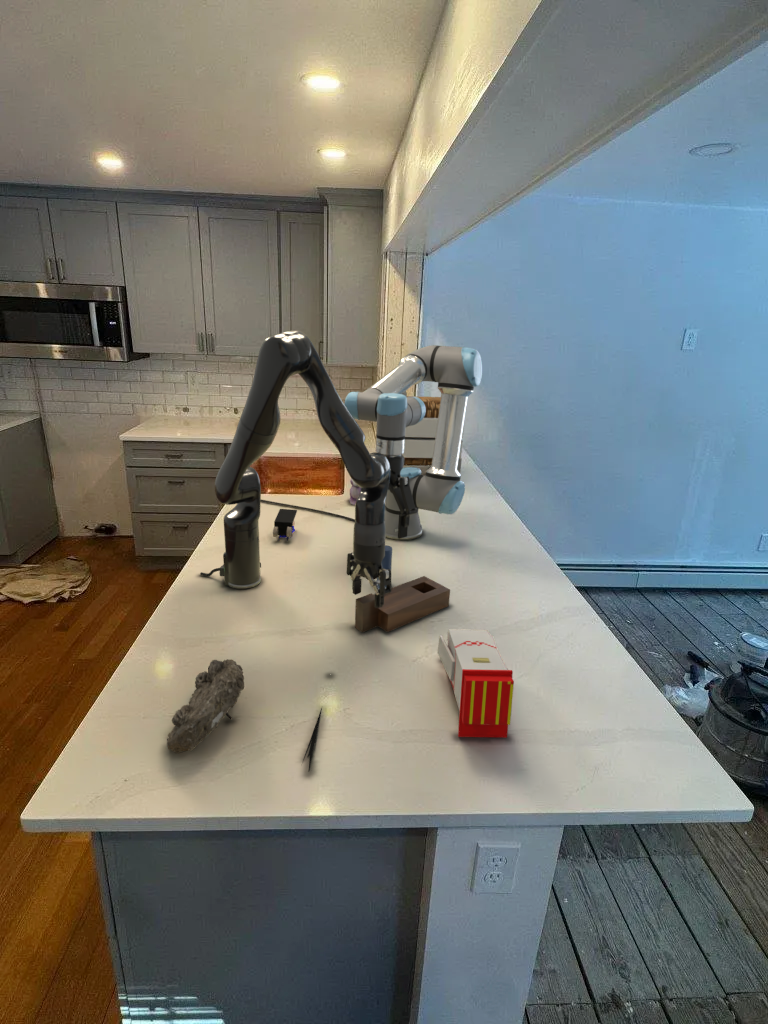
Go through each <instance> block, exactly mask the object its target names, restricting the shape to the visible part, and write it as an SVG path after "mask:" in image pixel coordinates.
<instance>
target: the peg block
mask: <svg viewBox="0 0 768 1024" xmlns="http://www.w3.org/2000/svg"><path fill="white" fill-rule="evenodd" d="M375 594H376V593H372V592H371V593H369V594H365V595H363V596H360V597H357V598H355V609H354V610H355V611H354V612H355V615H354V628H355V629H357V630H358V631H359V632H361V633H365V632H368V631H370V630H372V629H373V630H374V629H375V628H377V627H379V628H380V629H382V630H383V631H385V632H386V633H389V632H391V631H394V630H396V629H399V628H401V627H403V626H406V625H407V624H411V623H413V622H414V621H417V620H419V619H422V618H424V617H426V616H429V615H431V614H434V613H437V612H438V611H440V610H443V609H445V608H448V607H449V606H450V598H451V597H450V596H451V589H450V588H448V587H446V586H444V585H443V584H441V583H438V582H437V581H435V580H434V579H431V578H429V577H427V576H426V575H423V576H420V577H418V578H415V579H414V578H413V579H412V580H408V581H406V582H404V583H401V584H398V585H395V586H391V593H388V594H385V595H384V605H383V606H382V607H380V608H375V607H374V603H375Z"/></svg>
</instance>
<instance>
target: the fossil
mask: <svg viewBox="0 0 768 1024" xmlns="http://www.w3.org/2000/svg"><path fill="white" fill-rule="evenodd" d="M243 670H244V669H243V667H242V665H240V664H237V662H236V661H235V660H234V659H232V658H231V659H227V658H226V659H224V660H223V661H222V660H217V659H212V660H211V661H210V663H209V665H208V666H207V671H201V672H199V673H198V674H197V675H196V676H195V680H194V684H195V685H194V687H195V689H194V690H193V693H192V694H191V697H190V698H189V700H188V704H184V705H182V706H181V707H180V709H177V710H176V711H175V713H174V715H173V716H172V718H171V723H172V724H173V727H172V730H171V731H170V732H168V734H167V738H166V741H167V742H166V745H167V749H168V750H169V751H173V752H174V753H176V754H178V753H182V752H188V751H189V752H192V751H193V750H195V748H196V747H197V746H199V744H200V743H201V742H203V741H204V740H205V739H206V738H207V737H208V736H209V735H210V734H211V733H212V732H214V730H215V729H217V727H218V726H219V724H220V722H221V721H222V720H223V719H224V718H225V716H226V717H227V719H229V720H233V717H232V715H230V714H229V710H230V709H231V708H234V706H235V704H236V703H237V702H238V699H239V697H240V695H241V693H242V691H243V690H245V689H244V688H245V675H244V671H243Z"/></svg>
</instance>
